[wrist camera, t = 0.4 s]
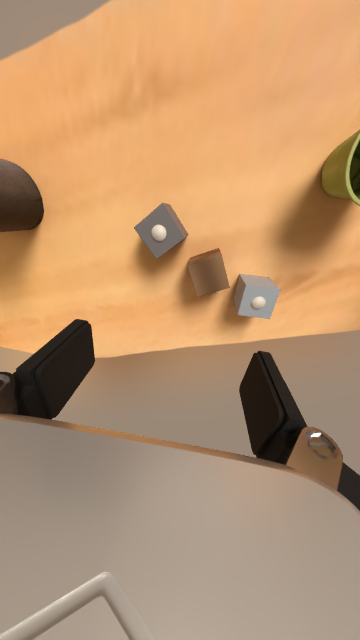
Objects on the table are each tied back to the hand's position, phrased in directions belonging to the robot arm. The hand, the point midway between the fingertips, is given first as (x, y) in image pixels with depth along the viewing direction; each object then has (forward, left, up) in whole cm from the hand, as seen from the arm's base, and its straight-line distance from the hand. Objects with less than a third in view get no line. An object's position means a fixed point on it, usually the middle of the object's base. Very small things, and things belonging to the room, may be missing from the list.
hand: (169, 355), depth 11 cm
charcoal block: (+4, -6, -25) cm, 26 cm away
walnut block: (-2, +1, -25) cm, 26 cm away
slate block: (-9, +6, -25) cm, 28 cm away
